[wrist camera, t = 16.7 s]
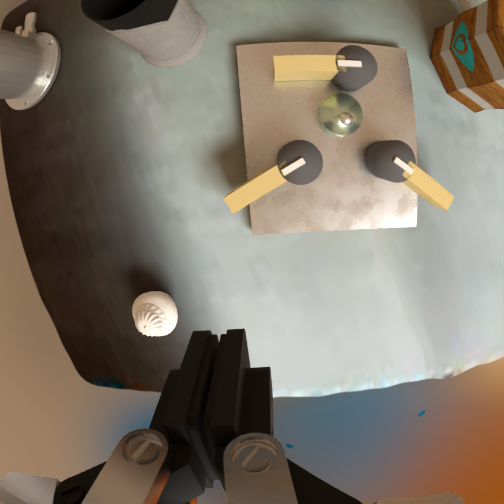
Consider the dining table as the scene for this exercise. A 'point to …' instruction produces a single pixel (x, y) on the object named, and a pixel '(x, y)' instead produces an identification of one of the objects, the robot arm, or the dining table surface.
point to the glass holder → (152, 27)
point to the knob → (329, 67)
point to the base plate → (326, 140)
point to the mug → (473, 55)
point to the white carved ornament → (155, 313)
